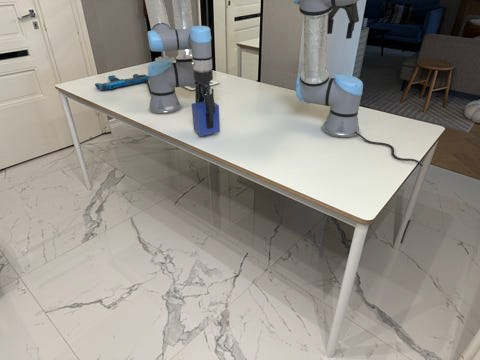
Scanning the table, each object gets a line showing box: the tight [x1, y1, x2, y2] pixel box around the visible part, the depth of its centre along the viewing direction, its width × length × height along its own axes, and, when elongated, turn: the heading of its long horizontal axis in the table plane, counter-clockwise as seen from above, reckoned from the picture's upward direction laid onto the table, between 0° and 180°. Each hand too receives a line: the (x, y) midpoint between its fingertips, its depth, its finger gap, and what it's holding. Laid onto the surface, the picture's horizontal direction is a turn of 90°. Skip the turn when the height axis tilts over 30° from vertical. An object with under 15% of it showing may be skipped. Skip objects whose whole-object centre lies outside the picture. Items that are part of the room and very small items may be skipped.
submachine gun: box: [94, 73, 149, 91], centre depth 208 cm, size 34×4×25 cm
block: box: [191, 101, 221, 137], centre depth 143 cm, size 9×8×12 cm
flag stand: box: [154, 51, 176, 63], centre depth 232 cm, size 13×13×30 cm
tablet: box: [183, 79, 220, 91], centre depth 211 cm, size 32×20×1 cm, turn 41°
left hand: (206, 124), depth 144 cm, fingers closed on block, 8 cm apart
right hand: (338, 36), depth 162 cm, fingers open, 13 cm apart
